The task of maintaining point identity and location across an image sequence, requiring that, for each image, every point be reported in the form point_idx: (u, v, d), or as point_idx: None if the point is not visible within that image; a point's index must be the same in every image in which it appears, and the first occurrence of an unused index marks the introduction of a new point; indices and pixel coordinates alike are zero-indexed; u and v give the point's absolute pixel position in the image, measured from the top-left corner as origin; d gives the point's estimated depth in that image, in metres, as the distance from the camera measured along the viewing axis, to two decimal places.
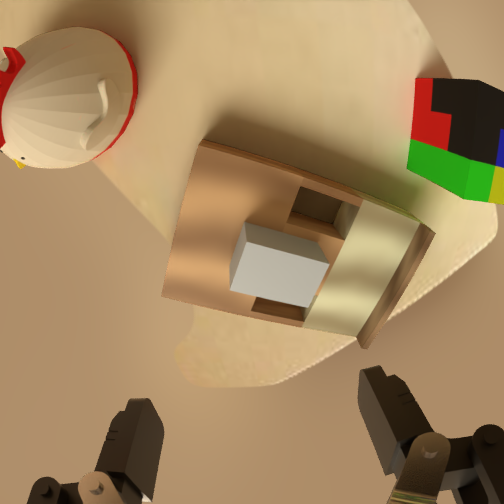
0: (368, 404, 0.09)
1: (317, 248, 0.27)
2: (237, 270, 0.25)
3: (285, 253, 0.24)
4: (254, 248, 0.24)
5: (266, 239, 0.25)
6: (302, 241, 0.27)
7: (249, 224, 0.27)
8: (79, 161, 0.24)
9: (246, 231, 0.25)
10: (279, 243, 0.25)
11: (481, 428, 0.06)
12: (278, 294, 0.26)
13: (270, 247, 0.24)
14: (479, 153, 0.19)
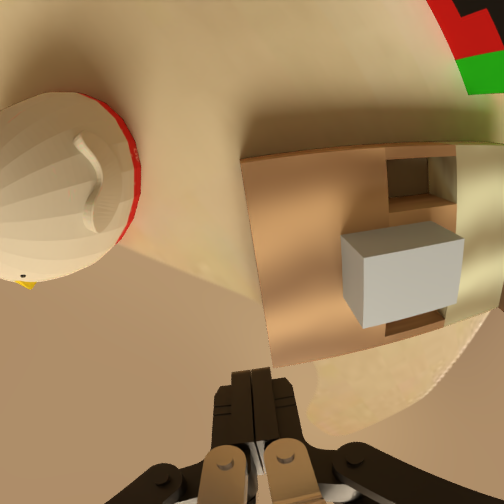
0: None
1: (437, 227, 0.18)
2: (364, 300, 0.17)
3: (414, 250, 0.16)
4: (375, 262, 0.16)
5: (382, 244, 0.17)
6: (416, 227, 0.19)
7: (348, 235, 0.19)
8: (100, 251, 0.19)
9: (352, 245, 0.17)
10: (398, 241, 0.17)
11: (338, 452, 0.07)
12: (421, 305, 0.17)
13: (394, 252, 0.16)
14: None
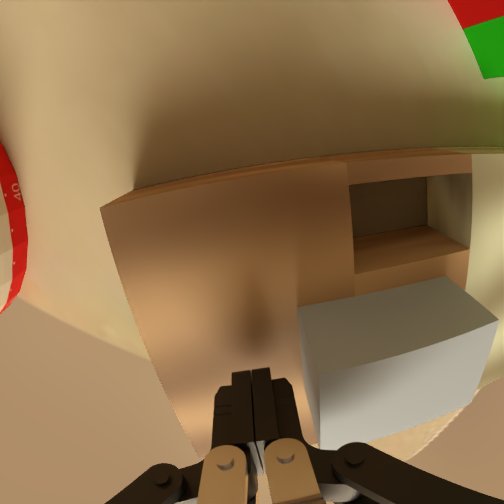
0: None
1: (455, 291, 0.11)
2: (322, 425, 0.09)
3: (414, 353, 0.08)
4: (341, 378, 0.09)
5: (361, 336, 0.10)
6: (423, 291, 0.11)
7: (309, 309, 0.12)
8: None
9: (309, 336, 0.10)
10: (390, 329, 0.10)
11: (338, 452, 0.07)
12: (417, 417, 0.10)
13: (378, 359, 0.08)
14: None
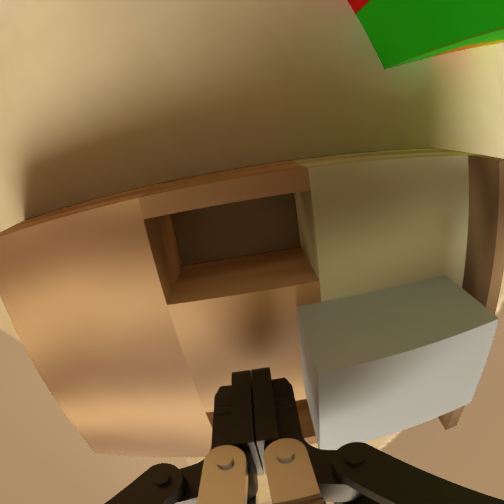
0: None
1: (455, 290, 0.11)
2: (321, 424, 0.09)
3: (413, 352, 0.08)
4: (340, 378, 0.09)
5: (360, 334, 0.10)
6: (422, 290, 0.11)
7: (308, 308, 0.12)
8: None
9: (308, 335, 0.10)
10: (389, 328, 0.10)
11: (338, 452, 0.07)
12: (416, 416, 0.10)
13: (377, 358, 0.09)
14: None
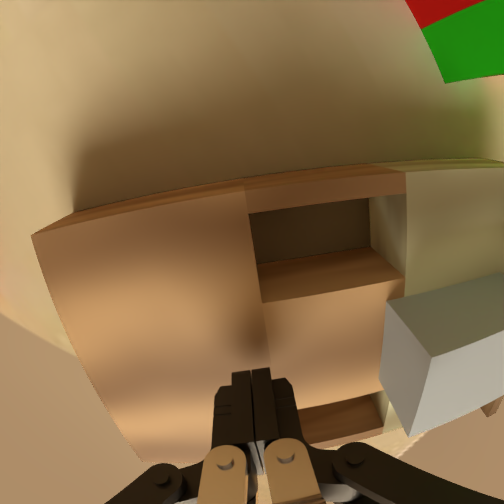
0: None
1: None
2: (419, 408, 0.09)
3: (496, 335, 0.08)
4: (446, 361, 0.09)
5: (452, 323, 0.10)
6: (486, 285, 0.11)
7: (398, 302, 0.12)
8: None
9: (409, 326, 0.10)
10: (472, 317, 0.10)
11: (338, 452, 0.07)
12: (485, 397, 0.10)
13: (473, 341, 0.08)
14: None
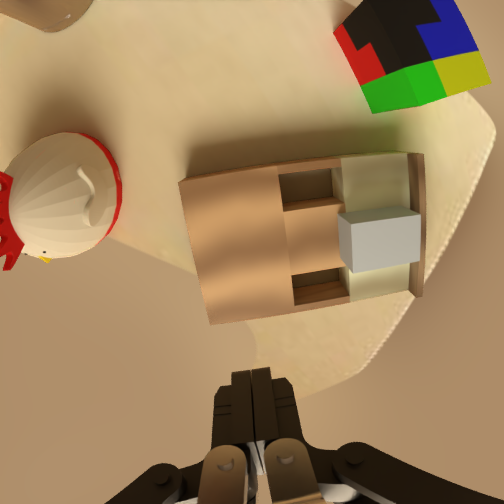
0: None
1: (404, 208, 0.28)
2: (353, 252, 0.26)
3: (384, 221, 0.25)
4: (358, 227, 0.25)
5: (364, 217, 0.27)
6: (389, 209, 0.28)
7: (342, 213, 0.29)
8: (94, 239, 0.29)
9: (344, 218, 0.27)
10: (375, 216, 0.27)
11: (338, 452, 0.07)
12: (392, 259, 0.27)
13: (371, 221, 0.25)
14: (408, 57, 0.19)
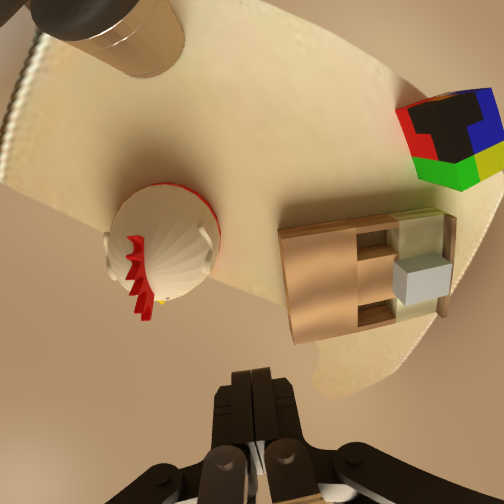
0: None
1: (439, 256, 0.36)
2: (406, 292, 0.35)
3: (428, 269, 0.34)
4: (412, 275, 0.34)
5: (414, 266, 0.35)
6: (429, 256, 0.37)
7: (397, 261, 0.37)
8: (201, 281, 0.38)
9: (400, 267, 0.36)
10: (421, 265, 0.35)
11: (338, 452, 0.07)
12: (431, 295, 0.35)
13: (420, 270, 0.34)
14: (459, 155, 0.27)
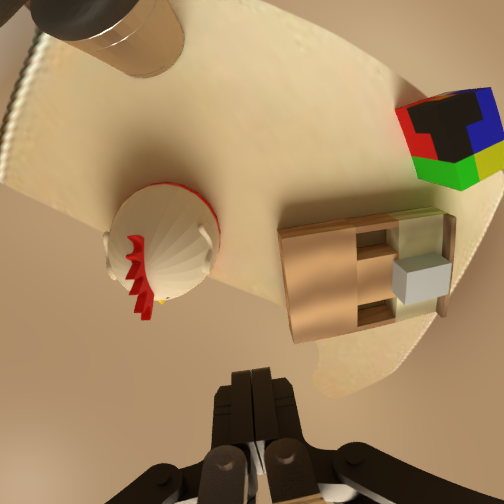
0: None
1: (439, 256, 0.36)
2: (406, 291, 0.35)
3: (428, 269, 0.34)
4: (411, 274, 0.34)
5: (413, 265, 0.35)
6: (428, 256, 0.37)
7: (397, 261, 0.37)
8: (201, 281, 0.38)
9: (400, 266, 0.36)
10: (421, 264, 0.35)
11: (338, 452, 0.07)
12: (430, 294, 0.35)
13: (419, 270, 0.34)
14: (458, 154, 0.27)
